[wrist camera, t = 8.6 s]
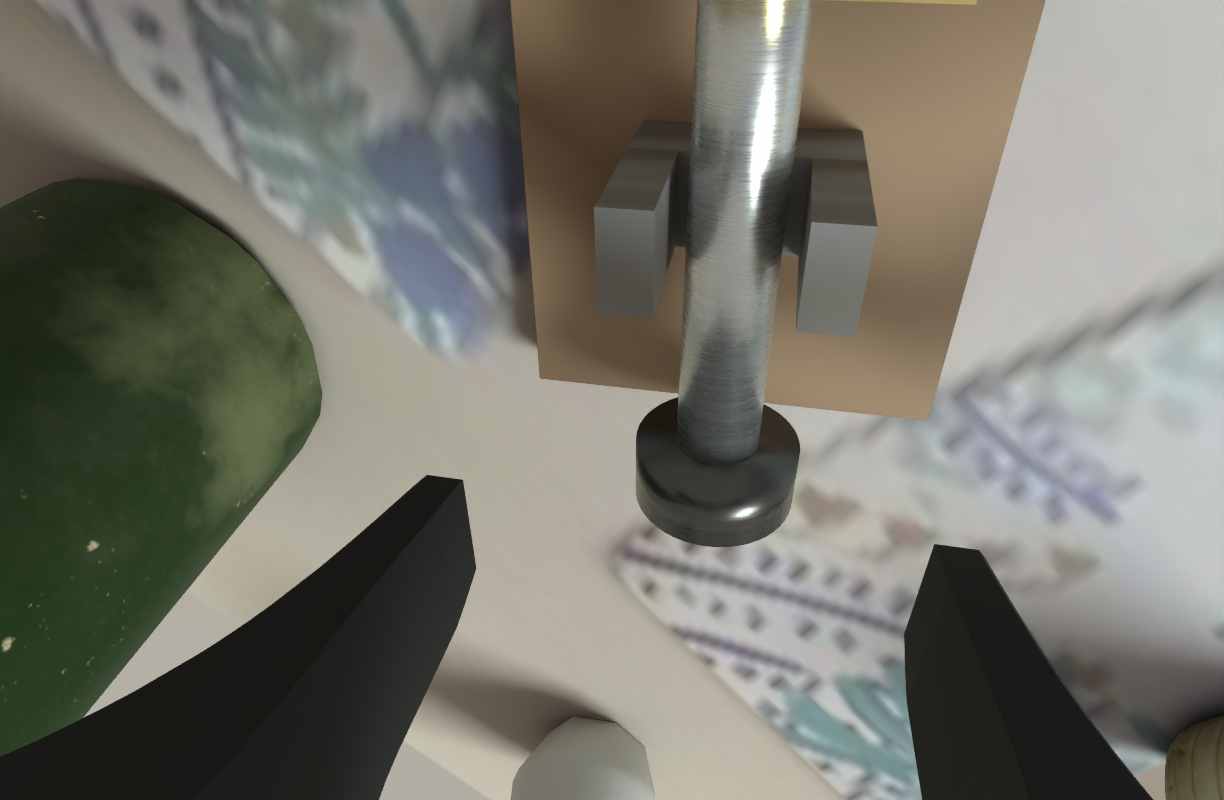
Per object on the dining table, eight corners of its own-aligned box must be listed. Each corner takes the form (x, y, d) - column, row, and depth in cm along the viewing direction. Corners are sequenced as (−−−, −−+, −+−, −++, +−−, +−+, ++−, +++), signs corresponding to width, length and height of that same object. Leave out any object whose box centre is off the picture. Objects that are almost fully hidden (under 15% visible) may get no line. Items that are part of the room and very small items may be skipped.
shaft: (667, -434, 11) (617, -521, 8) (937, -453, 11) (982, -554, 8) (649, 433, 20) (622, 534, 17) (793, 450, 20) (789, 558, 17)
